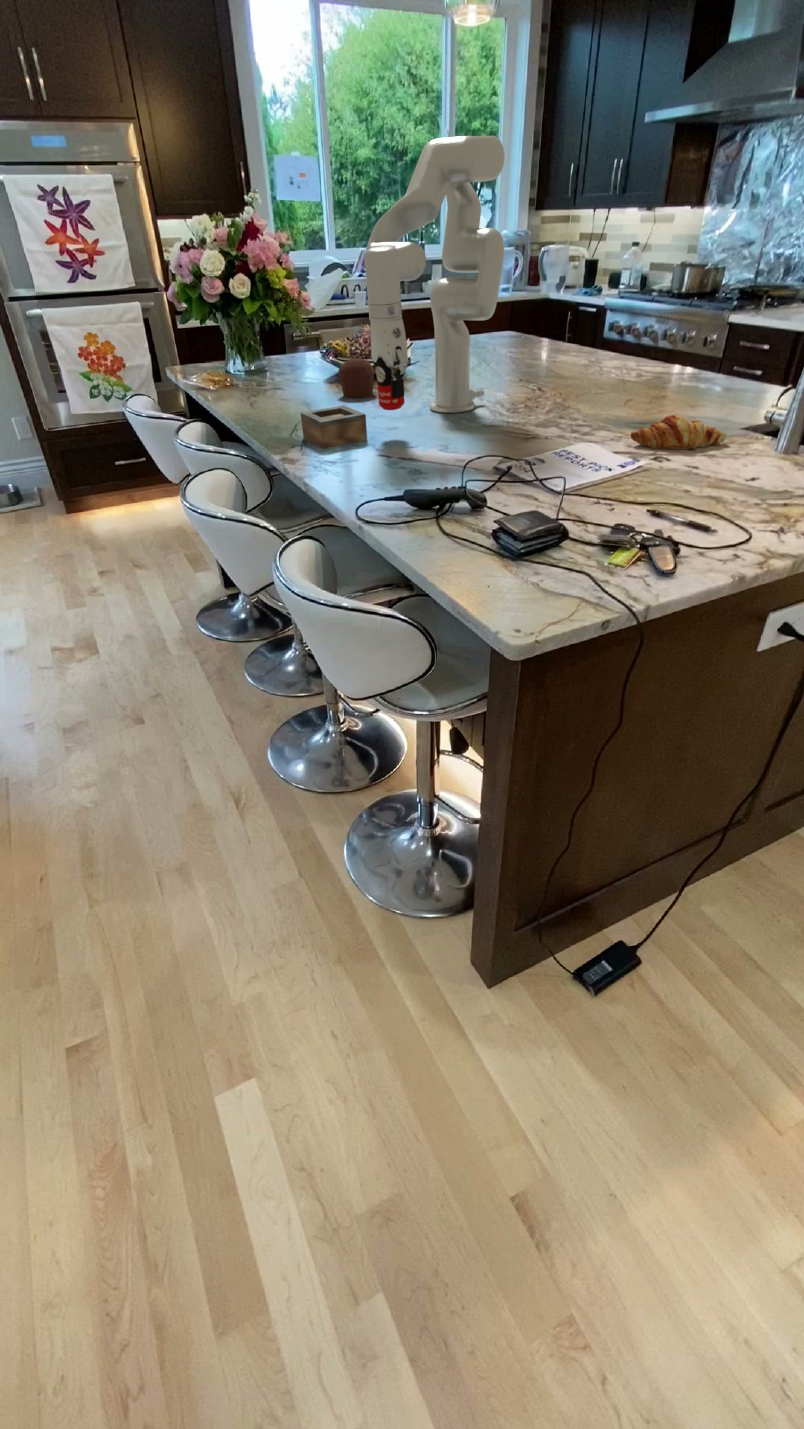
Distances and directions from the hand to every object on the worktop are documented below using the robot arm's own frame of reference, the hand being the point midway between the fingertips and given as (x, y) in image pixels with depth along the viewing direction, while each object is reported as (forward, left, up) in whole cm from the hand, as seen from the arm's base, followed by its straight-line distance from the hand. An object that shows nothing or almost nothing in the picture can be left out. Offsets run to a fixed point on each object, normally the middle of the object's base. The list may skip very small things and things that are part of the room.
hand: (390, 393), depth 177 cm
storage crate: (+13, -6, -10) cm, 18 cm away
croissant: (-48, +48, -11) cm, 69 cm away
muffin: (-15, -48, -10) cm, 52 cm away
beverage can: (0, 0, -3) cm, 3 cm away
